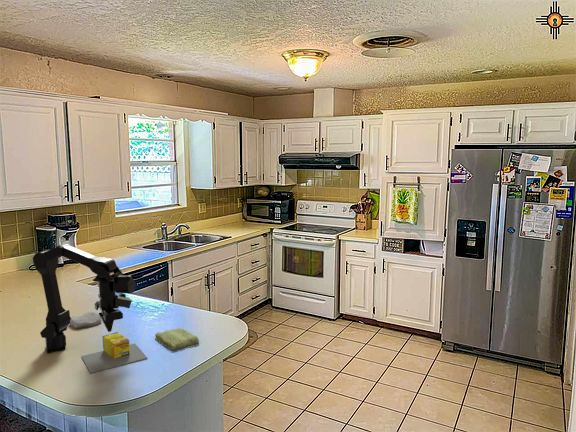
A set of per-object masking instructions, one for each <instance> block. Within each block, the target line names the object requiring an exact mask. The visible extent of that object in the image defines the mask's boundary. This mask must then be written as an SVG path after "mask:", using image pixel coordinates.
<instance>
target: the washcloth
mask: <svg viewBox="0 0 576 432" xmlns="http://www.w3.org/2000/svg"><path fill="white" fill-rule="evenodd" d="M154 339H155V341H157V342H158V343H160V344H162V345H163V346H165V347H166V348H168V349H169V350H171V351H177V350H179V349H182V348H184V347H187V346H192V345H196V344H199V342H200V341H199V340H200V339H199V338H198V336H197V335H196V334H193V333H192V332H189V331H187V329H185V328H182V327H179V328H175V329H174V328H173V329H166V330H165V331H163V332H156V333H155V338H154Z"/></svg>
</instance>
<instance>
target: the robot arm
mask: <svg viewBox="0 0 576 432" xmlns="http://www.w3.org/2000/svg"><path fill="white" fill-rule="evenodd" d="M61 257H63V258H66V259H68V260H70V261H72V262H76V263H78V264H80V265H82V266H85V267H87V268H89V270H90V271H91V272H92V273H93V274H95V275H96V276H95V278H93V279H92V281H93V282H98V299H99V301H96V302H95V303H94V309H95V310H96V311H98V310H100V312H98V315H99V316H100V317H101V322H102V323H103V324H104V327H105V328H106V330H107V332H108V333H110V332H112V330H113V326H114V321H117V320H122V319H123V318H124V313H123V312H122V311H121V310H120V309H119V308H125V309H130V308H131V305H132V301H133V299H131V298H130V297H127V295H126V294H133V293H134V292H135V289H136V285H137V284H136V281H135V279H134V278H133V275H131V274H128V275H124V273H123V272H122V270H121V269H120V268H119V266H118V265H117V263H116V261H115V260H114V259H112V258H109V257H103V256H96V255H93V254H91V253H88V252H85V251H84V250H81V249H79V248H76V247H74V246H72V245H70V244H68V243H63V244H60V245H56V247H53V248H51V249H46V250H42V251H39V252H36V253H35V254H34V255H33V257H32V262H33V265H34V268H35V270H36V271H37V272H38V273H39V274H40V276H41V281H42V284H43V290H44V291H43V292H44V295H45V300H46V306H47V313H46V314H47V315H46V317H45V327H44V328H43V329H42V330H41V331H40V333H39V334H40V336H41V338H43V339H45V347H44V349H45V351H46V353H47V354H50V353H55V352H59V351H64V350H67V349H66V347H67V338H66V337H67V336H66V334H65V331H67V329H68V327H69V325H70V320H71V318H72V317H71V314H70V310H69V309H67V310H66V309H65V308H64V307H63V303H62V298H61V294H60V289H59V284H58V277H57V273H56V271H57V268H58V264H59V258H61Z"/></svg>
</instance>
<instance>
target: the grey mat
mask: <svg viewBox="0 0 576 432" xmlns="http://www.w3.org/2000/svg"><path fill="white" fill-rule="evenodd" d="M129 347H130V354H129V355H125V356H122V357H119V358H116V359H114V358H113V357H112V356H110V355H109V354H108V353H107V352H105V351H104V350H101V351H97V352H93V353H89V354H84V355H81V358H82V361H83V363H84V365H85V366H86V369H88V372H89V373H90V374H95V373H97V372H99V373H100V372H101V371H102V372H103V371H105V370H109V369H113V368H117V367H123V366H125V365H128V364H132V363H136V362H141V361H144V360H148V357H147V355H146V354H145V353H144V352H143V351H142V349H141V348H139V346H138V345H137V344H136V343H131V344H130V343H129Z"/></svg>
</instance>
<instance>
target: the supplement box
mask: <svg viewBox="0 0 576 432" xmlns="http://www.w3.org/2000/svg"><path fill="white" fill-rule="evenodd" d="M129 345H130V339H129V338H127V337H125V336H124V335H123V334H121V333H119V332H118V331H116V332H112V333H109V334H106V335H103V336H102V348H103V349H102V351H105V352H107V353H108V354H109V355H110V356H112V357H113V358H114V359H116V358H119V357H122V356H125V355H129V354H130V347H129Z"/></svg>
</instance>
